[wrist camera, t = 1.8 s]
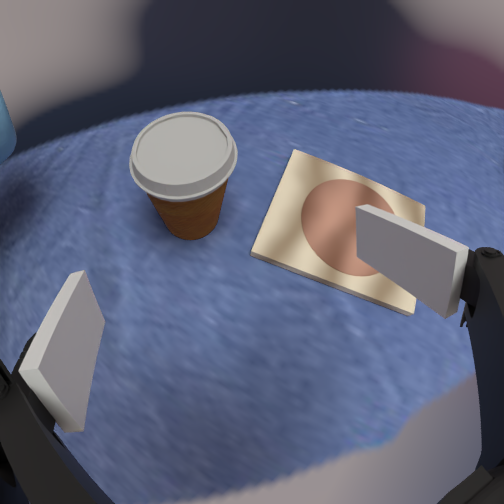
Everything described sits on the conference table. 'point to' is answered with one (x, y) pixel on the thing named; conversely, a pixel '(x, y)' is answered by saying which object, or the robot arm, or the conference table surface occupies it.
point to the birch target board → (331, 229)
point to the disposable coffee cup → (185, 170)
